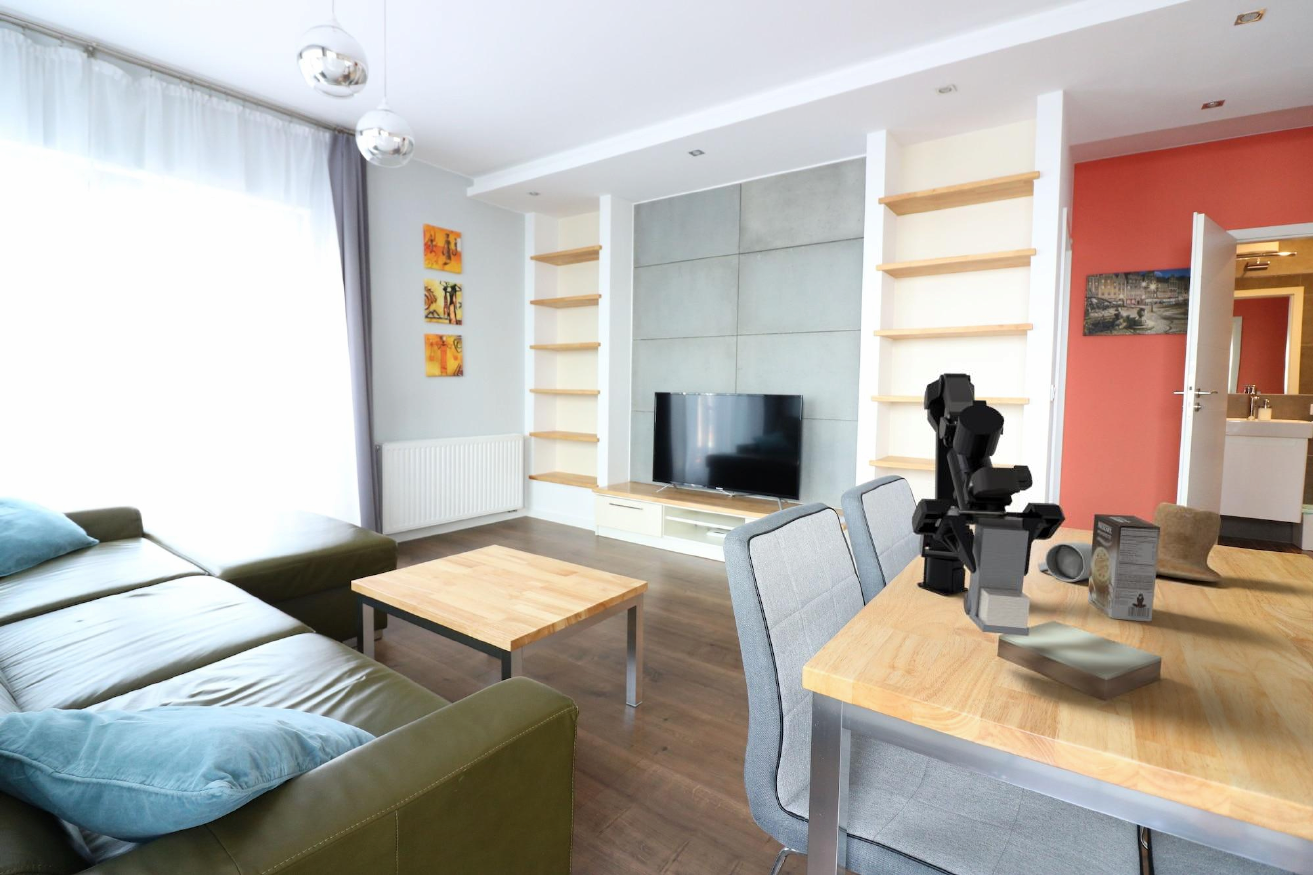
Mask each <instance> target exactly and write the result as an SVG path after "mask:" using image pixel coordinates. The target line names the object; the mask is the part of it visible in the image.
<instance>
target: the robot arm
mask: <svg viewBox="0 0 1313 875" xmlns="http://www.w3.org/2000/svg"><path fill="white" fill-rule="evenodd" d="M971 377H972V376H971V375H970V374H967V373H963V372H962V373H961V372H957V373H954V372H944V373H943V374H939V378H938V379H936V380H934V381H932V382H931V383H928V384H927V385H926V388H925V391H924V397H923V409H924V410H925V411H926V419H927V422H928V424H929V425H930V426H931V428H932V429H933V431H934V432H935V449H934V450H935V461H934V465H935V466H934V474H935V476H934V498H921V499H920V500H919V501H918V503H917V505H916V507H915V509H914V512H913V515H912V517H911V526H912V532H913V533H914V534H915V535H919V536H920V537H919V546H918V547H919V548H918V550H919V554H920V557H921V558H924V561H923V562H924V563H923V580H922V581H921V582H920V581H919V582H917V583H916V584H917V587H921V588H923V589H925V590H928V591H932V592H934V593H937V594H940V595H941V596H942V595H943V596H951V595H955V594H960V593H967V592H969V587H966V572H967V571H966V569H967V570H968V571H969V572H970V573H975V572H976V570H977V568H976V562H975V558H974V554H973V542H974V531H973V530H974V529H973V528H971V526H975V523H974V522H973V514H975V515H990V516H1005V517H1017V518H1019V519H1021V520H1023V523H1022V528H1023V529H1025V530H1027V531H1029V533H1028V543H1027V552H1026V561H1025V571H1024V577H1026V576H1027V575H1028V574H1029V569H1030V561H1031V560H1030V559H1031V551H1032V544H1033V542H1034V541H1035V540H1037V541H1046V540H1049V539H1051V538H1052V537H1053V536H1054V535H1055V533H1056V532H1057V530H1059V528H1060V527H1061V525H1062V524H1063V523H1064V522H1065V520H1066V516H1065V514H1064V511H1063V508H1062V507H1061V506H1060V505H1059V504H1057V503H1055V502H1054V503H1053V502H1052V503H1051V502H1050V503H1049V502H1027V504H1026V506H1025V507H1024V509H1023V510H1022V512H1021V511H1019V512H1018V511H1007V509H1006V507H1010V506H1011V505H1012V503H1013V498H1012V496H1013V495H1014V494H1015V495H1016V494H1019V493H1020V492H1022V491H1024V492H1025V491H1027V490H1029V489H1030V488H1032V487H1033V484H1034V483H1033V474H1032V472H1031V470H1030V468H1029V466H1028V465H1023V464H1022V465H1021V464H1019V465H1018V464H1015V465H1013V467H994V466H993V463H992V459H991V457H993V456H994V454H995V453H996V450H997V447H998V444H999V441H1000V438H1001V435H1004V424H1005V417H1004V416H1003V415H1002V414H1001V412H999V410H997V409H996V408H994V407H992V406H989V405H987V400H985V399H975V397H976V396H975V391H976V390H975V384H974V383H972V382H971V381H972V380H971Z"/></svg>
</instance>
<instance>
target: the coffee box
mask: <svg viewBox="0 0 1313 875" xmlns="http://www.w3.org/2000/svg"><path fill="white" fill-rule="evenodd" d="M1093 516H1094V517H1093V529H1092V543H1091V545H1092V552H1091V563H1090V576H1089V578H1088V588H1087V589H1088V590H1087V591H1088V592H1087V601H1088V602H1089V603H1090V604H1092V606H1094V607H1096V608H1097V609H1098V610H1099V611H1101V612H1102V613H1104V614H1105V615H1106V616H1107V617H1109V618H1110V619H1112V620H1113V619H1114V620H1125V621H1137V622H1138V621H1139V622H1152V621H1153V620H1152V619H1153V609H1154V600H1155V599H1154V598H1155V589H1156V588H1155V587H1156V576H1157V575H1156V569H1157V559H1158V549H1159V539H1160V529H1161V527H1158V526H1156V525H1154V524H1153V523H1151V522H1149V521H1146V520H1145V519H1142V518H1139V517H1137V516H1135V515H1128V514H1127V515H1125V514H1123V515H1122V514H1102V513H1100V514H1099V513H1098V514H1097V513H1095V514H1094V515H1093Z"/></svg>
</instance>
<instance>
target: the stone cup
mask: <svg viewBox="0 0 1313 875" xmlns="http://www.w3.org/2000/svg"><path fill="white" fill-rule="evenodd" d="M1152 521H1153V523H1152V524H1154V525H1156V526H1158V527H1161V529H1160V539H1159V549H1158V559H1157V569H1156V576H1157V575H1158V576H1163V577H1168V578H1169V577H1170V578H1174V579H1183V580H1193V581H1203V582H1219V581H1220V580H1221V579H1222V576H1221V574H1220V573H1219V572H1217V571H1215V570H1214V569H1213V568H1211V567H1210V566H1209V564H1208V558H1209V555H1210V552H1211V551H1212V549H1213V548H1214V546H1215V544H1216V542H1217V540H1218V538H1219V536H1220V529H1221V522H1222V520H1221V516H1220V515H1219V513H1217V512H1215V511H1212V510H1207V509H1202V508H1195V507H1187V506H1185V505H1180V504H1177V503H1176V504H1175V503H1170V502H1160V503H1159V504H1158V505H1157V507H1156V509H1155V511H1154V514H1153V520H1152Z"/></svg>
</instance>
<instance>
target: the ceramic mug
mask: <svg viewBox="0 0 1313 875" xmlns="http://www.w3.org/2000/svg"><path fill="white" fill-rule="evenodd" d="M1091 552H1092V544H1090V543H1088V542H1081V541H1076V542H1073V541H1071V542H1069V541H1068V542H1059V543H1056V544H1053V545H1052V546H1051V547H1050V548H1048V550H1047V551H1046V554H1045V559H1044V561H1042V562H1039V563H1037V567H1038V571H1039V572H1042V571H1043V572H1044V571H1048V572H1049V573H1050V575H1051V576H1052V577H1054V578H1055V579H1056V580H1058V581H1061V582H1064V583H1074V582H1078V581H1083V580H1087V579H1089V576H1090V563H1091Z"/></svg>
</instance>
